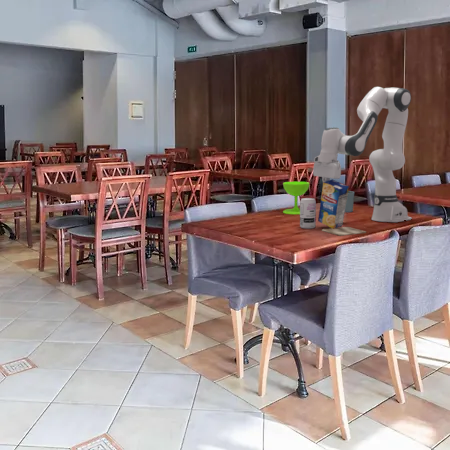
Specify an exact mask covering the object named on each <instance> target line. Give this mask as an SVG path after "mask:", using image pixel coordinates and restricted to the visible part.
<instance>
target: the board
mask: <svg viewBox="0 0 450 450" xmlns="http://www.w3.org/2000/svg"><path fill="white" fill-rule="evenodd" d="M321 232H325V233H328V234H332V235H335V236H339V237H341V236H350V235H358V234H366V233H367V231H366V230H362V229H358V228H354V227H350V226H340V227H338V228H335V229H333V228H331V227H330V228H323V229H321Z"/></svg>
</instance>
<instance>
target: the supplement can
mask: <svg viewBox="0 0 450 450" xmlns="http://www.w3.org/2000/svg"><path fill="white" fill-rule="evenodd" d="M316 203H317V201H316V199H315V198H313V197H312V198H311V197H304V198H301V200H300V201H299V209H300V214H299V227H300V228H301V229H314V228H315V227H316V224H317V223H316V220H317V219H316V218H317V217H316V216H317V214H316V213H317V204H316Z"/></svg>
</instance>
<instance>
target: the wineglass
mask: <svg viewBox="0 0 450 450" xmlns="http://www.w3.org/2000/svg"><path fill="white" fill-rule="evenodd" d="M282 185H283V189H284V190H285V192H286V193H287V194H289V195H290V196H293V197H294V206H293V208H286V209H284V210H283V211H282V213H283V214H286V215H300V207H299V206H298V202H299V201H298V198H299V197H300V196H302V195H305V193H307V191H308V190H309V188H310V182H307V181H285V182H283V183H282Z"/></svg>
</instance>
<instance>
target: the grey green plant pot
mask: <svg viewBox="0 0 450 450" xmlns="http://www.w3.org/2000/svg"><path fill="white" fill-rule="evenodd" d="M354 200H355V191H351V190H348V195H347V201H346V207H345V213H352V212H354V211H353V210H354Z"/></svg>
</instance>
